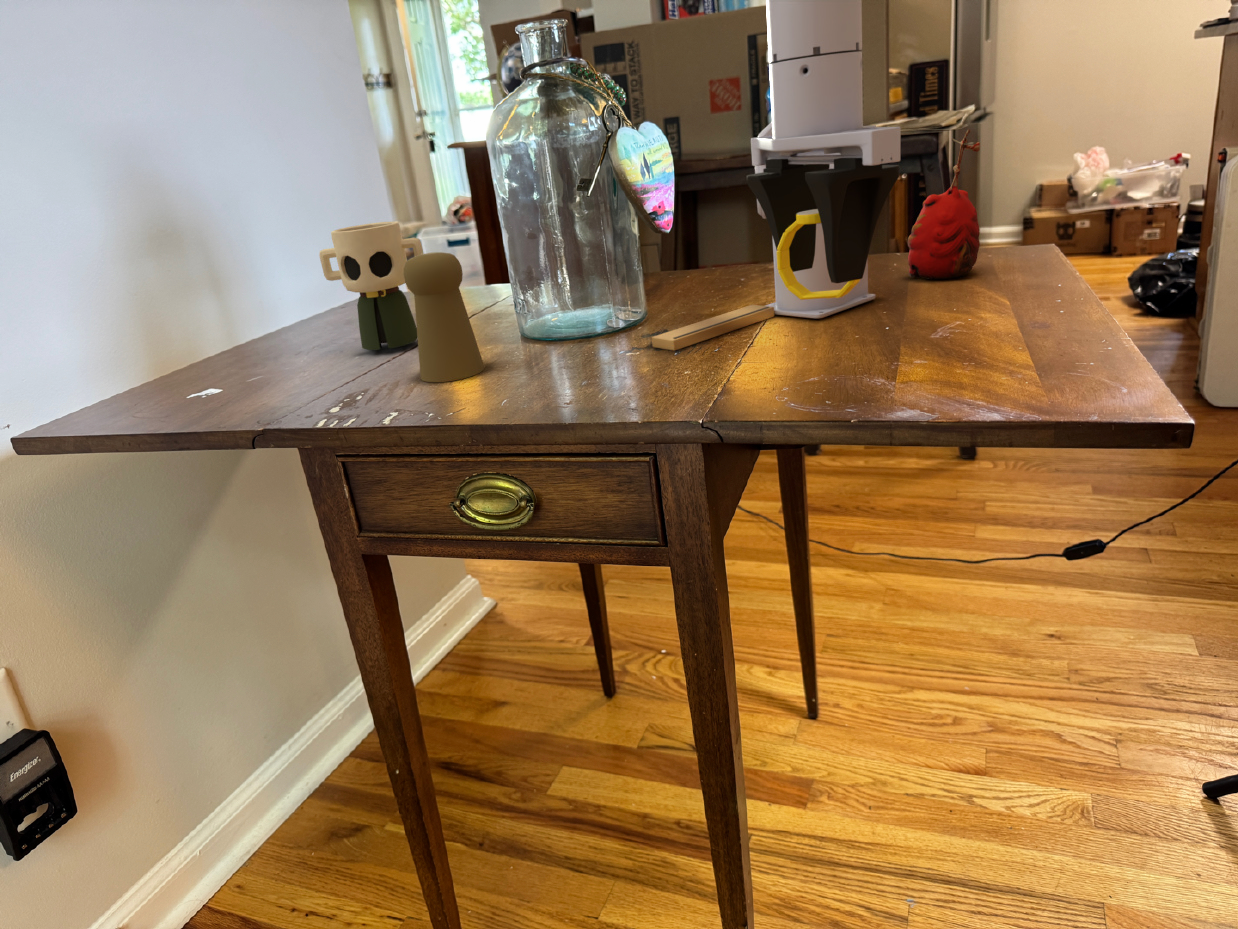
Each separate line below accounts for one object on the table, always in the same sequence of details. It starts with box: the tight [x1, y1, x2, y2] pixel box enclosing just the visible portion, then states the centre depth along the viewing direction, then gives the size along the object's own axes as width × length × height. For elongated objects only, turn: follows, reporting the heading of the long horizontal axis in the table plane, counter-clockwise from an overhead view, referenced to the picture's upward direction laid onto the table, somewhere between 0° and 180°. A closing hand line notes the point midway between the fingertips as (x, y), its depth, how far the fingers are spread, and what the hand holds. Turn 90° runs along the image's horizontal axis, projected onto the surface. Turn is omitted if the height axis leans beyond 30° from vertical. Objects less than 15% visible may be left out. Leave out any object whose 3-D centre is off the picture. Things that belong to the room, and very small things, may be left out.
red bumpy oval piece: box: [907, 128, 981, 281], centre depth 91 cm, size 8×7×15 cm
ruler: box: [651, 304, 775, 352], centre depth 82 cm, size 14×3×1 cm, turn 130°
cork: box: [404, 251, 486, 383], centre depth 77 cm, size 6×6×11 cm
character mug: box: [318, 221, 424, 351], centre depth 91 cm, size 11×7×13 cm, turn 91°
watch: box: [777, 209, 860, 300], centre depth 58 cm, size 6×3×6 cm, turn 54°
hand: (821, 275), depth 58 cm, fingers closed on watch, 5 cm apart
